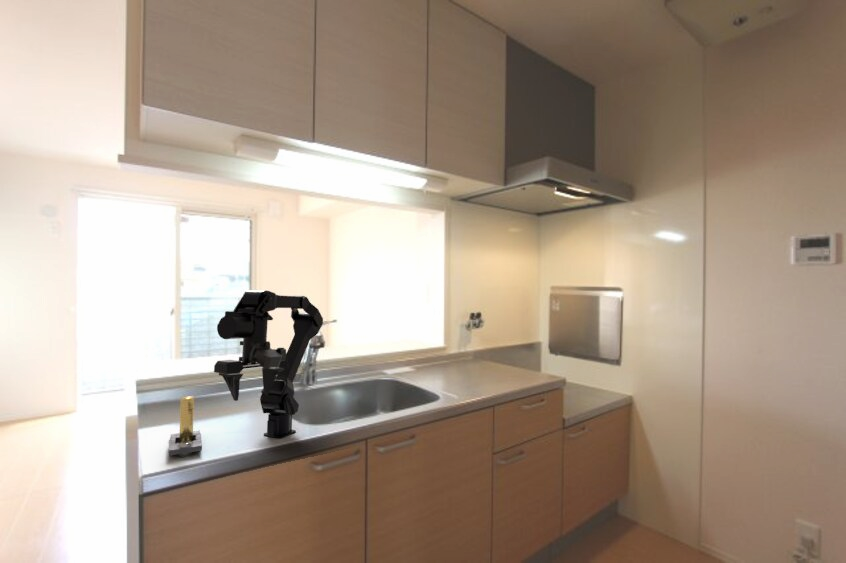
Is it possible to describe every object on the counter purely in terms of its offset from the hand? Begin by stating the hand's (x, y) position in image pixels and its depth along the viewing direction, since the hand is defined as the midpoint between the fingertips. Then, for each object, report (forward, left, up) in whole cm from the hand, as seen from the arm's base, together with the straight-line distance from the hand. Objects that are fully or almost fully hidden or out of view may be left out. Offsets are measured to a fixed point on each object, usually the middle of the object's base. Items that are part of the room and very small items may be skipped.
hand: (251, 397), depth 105 cm
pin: (+7, -15, -13) cm, 21 cm away
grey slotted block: (+6, -16, -13) cm, 22 cm away
